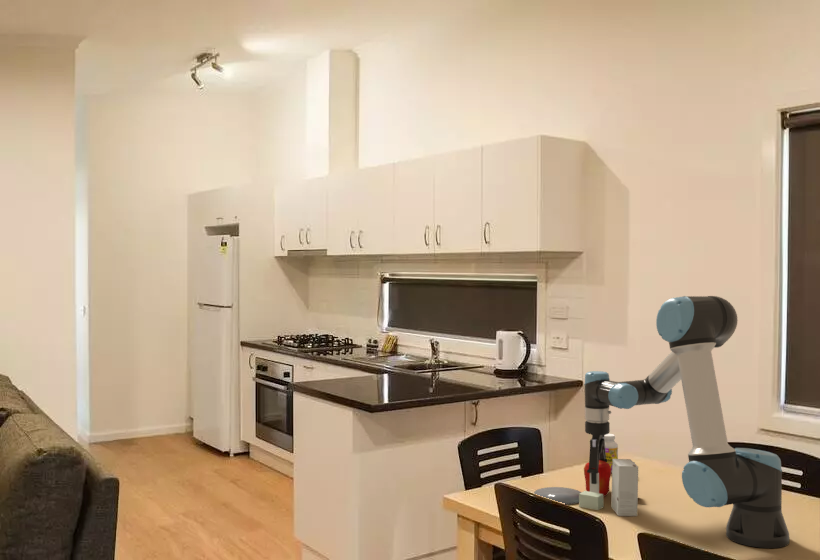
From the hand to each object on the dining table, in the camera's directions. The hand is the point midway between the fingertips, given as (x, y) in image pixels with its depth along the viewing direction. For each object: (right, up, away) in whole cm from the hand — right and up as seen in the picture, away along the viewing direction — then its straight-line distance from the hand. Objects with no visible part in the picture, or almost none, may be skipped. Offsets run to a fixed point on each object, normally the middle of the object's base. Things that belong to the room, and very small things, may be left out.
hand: (597, 488), depth 244 cm
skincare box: (+4, -3, -18) cm, 18 cm away
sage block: (-5, -2, -12) cm, 13 cm away
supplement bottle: (+11, -2, +29) cm, 31 cm away
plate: (-13, -2, -2) cm, 13 cm away
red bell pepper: (0, -2, 0) cm, 2 cm away
